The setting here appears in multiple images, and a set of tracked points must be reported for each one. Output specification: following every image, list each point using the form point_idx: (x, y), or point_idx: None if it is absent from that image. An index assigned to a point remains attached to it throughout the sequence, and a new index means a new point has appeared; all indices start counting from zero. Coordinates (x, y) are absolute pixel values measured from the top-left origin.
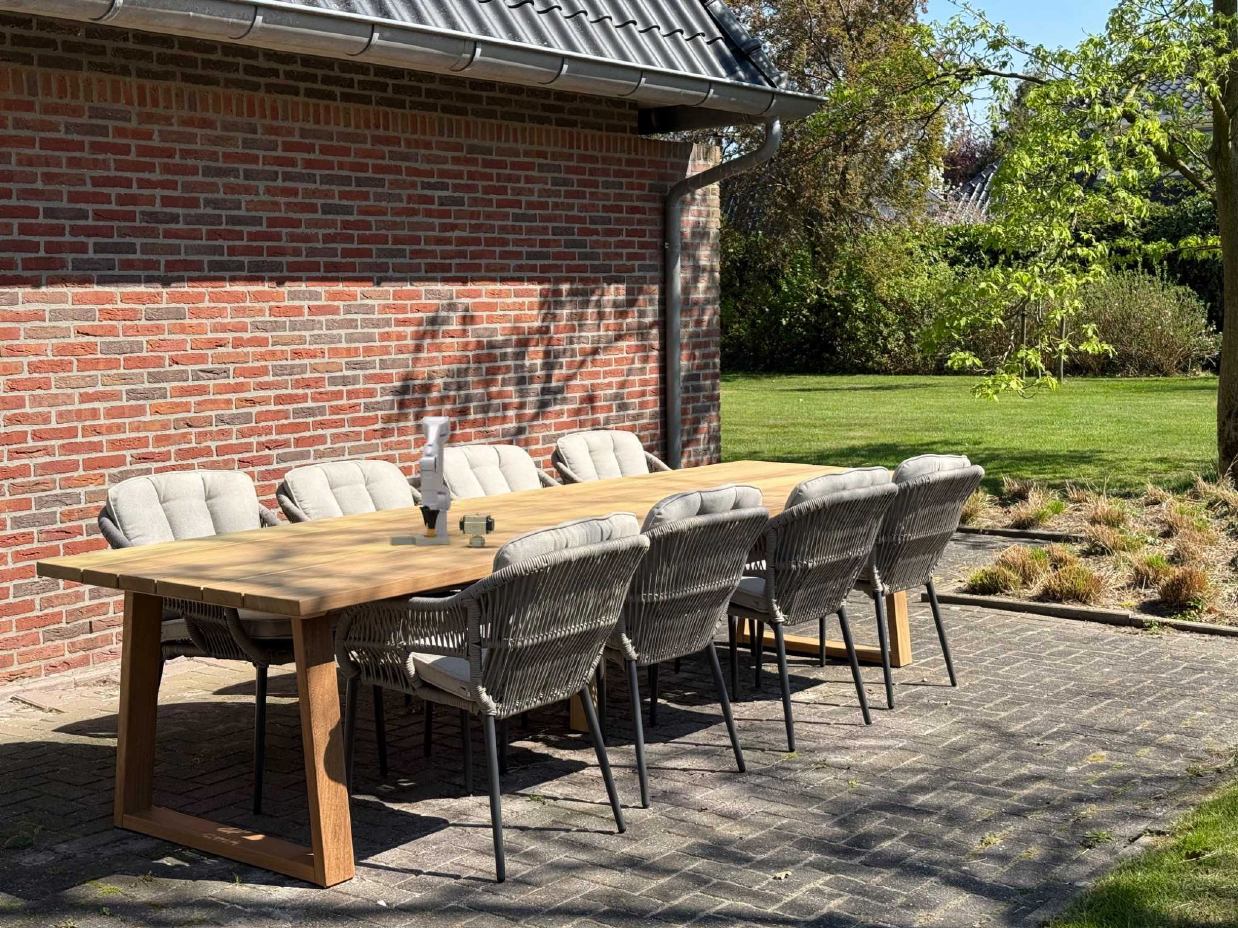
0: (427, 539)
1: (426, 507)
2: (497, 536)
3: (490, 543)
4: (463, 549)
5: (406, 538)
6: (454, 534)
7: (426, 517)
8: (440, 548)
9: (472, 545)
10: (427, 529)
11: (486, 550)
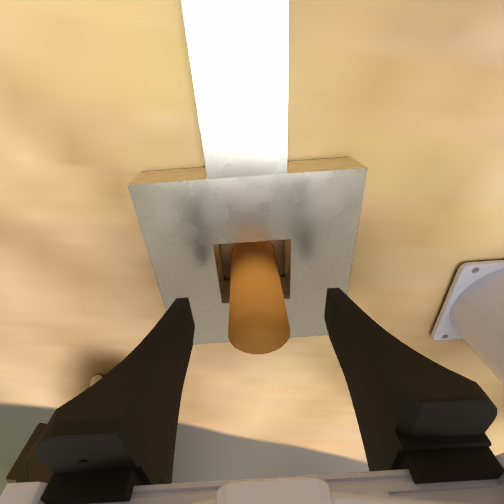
0: (151, 249)
1: (393, 446)
2: (336, 432)
3: (186, 415)
4: (25, 350)
5: (199, 117)
6: (462, 350)
7: (155, 358)
8: (43, 279)
9: (90, 381)
10: (240, 286)
11: (13, 400)
